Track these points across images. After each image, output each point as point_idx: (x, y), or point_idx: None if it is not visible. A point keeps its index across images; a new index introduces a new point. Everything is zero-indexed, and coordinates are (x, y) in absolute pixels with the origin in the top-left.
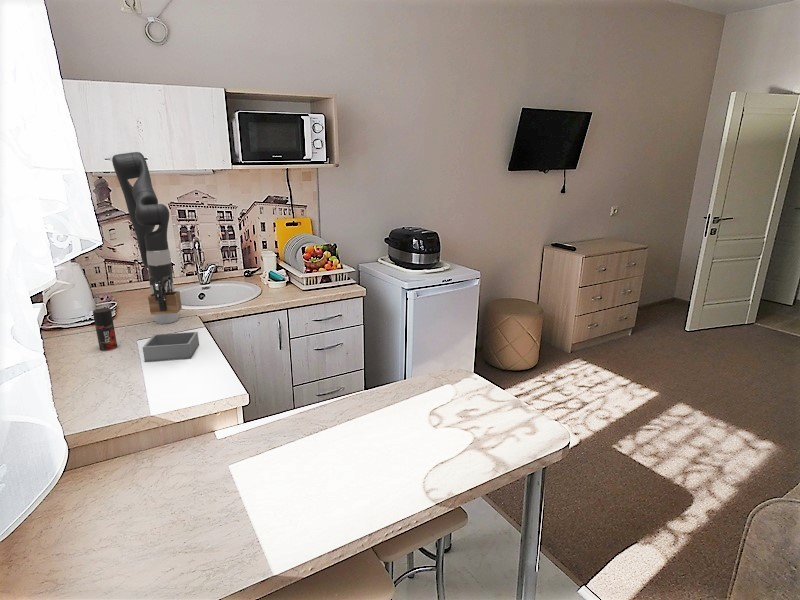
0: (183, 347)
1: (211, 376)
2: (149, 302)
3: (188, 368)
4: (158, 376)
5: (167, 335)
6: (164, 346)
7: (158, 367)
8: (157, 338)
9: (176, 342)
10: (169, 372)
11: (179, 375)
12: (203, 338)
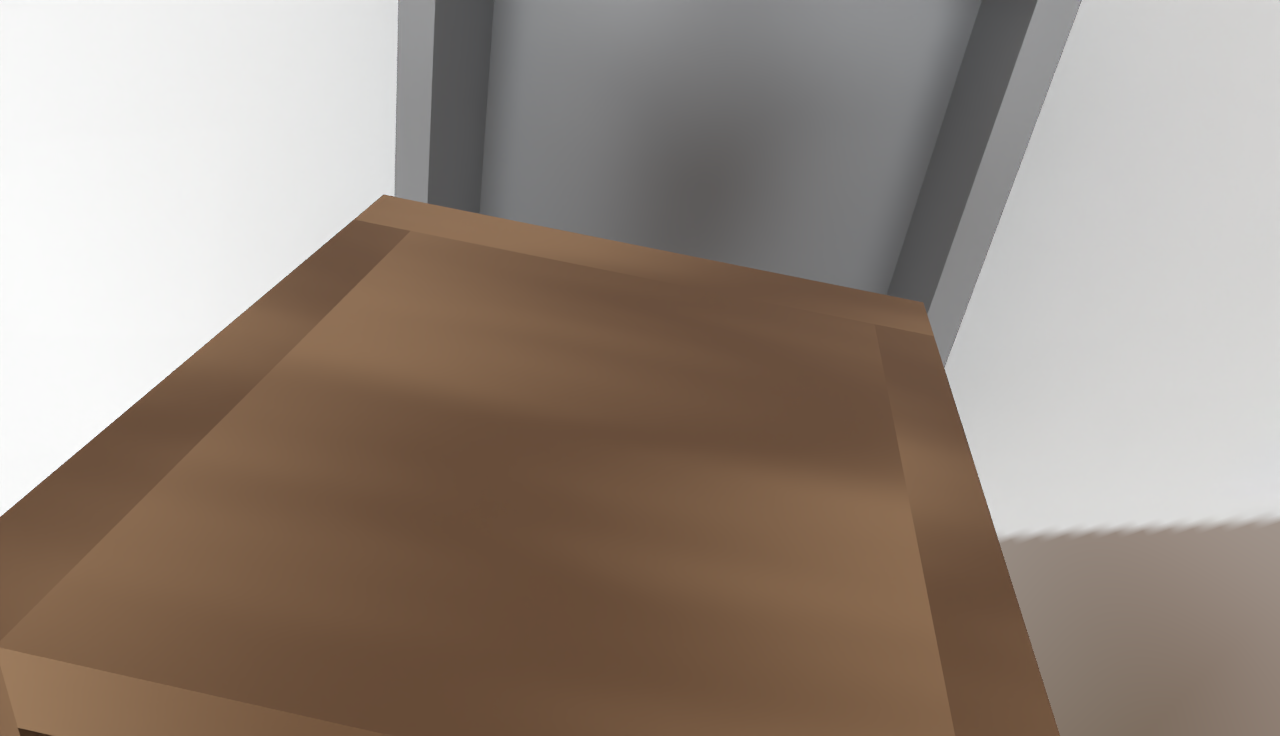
0: None
1: (7, 500)
2: (144, 427)
3: (191, 346)
4: (7, 75)
5: (963, 189)
6: (399, 182)
7: (259, 49)
8: (1015, 9)
9: (910, 254)
10: (106, 179)
11: (30, 272)
12: (1094, 504)
